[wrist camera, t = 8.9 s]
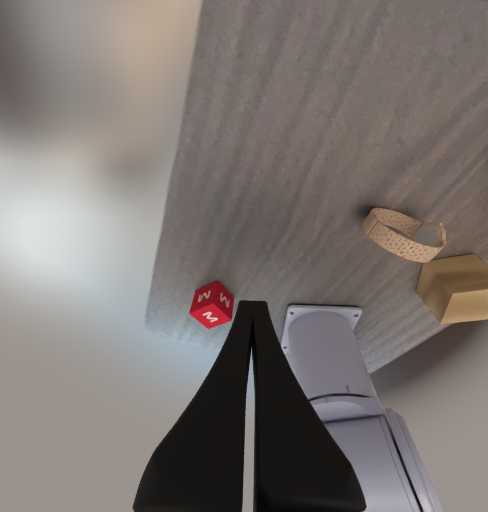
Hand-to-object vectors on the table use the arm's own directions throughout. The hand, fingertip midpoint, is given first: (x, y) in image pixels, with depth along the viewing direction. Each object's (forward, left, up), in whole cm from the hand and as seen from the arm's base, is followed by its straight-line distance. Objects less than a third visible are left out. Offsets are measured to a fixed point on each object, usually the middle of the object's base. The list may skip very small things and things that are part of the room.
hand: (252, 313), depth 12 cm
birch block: (-5, -18, -9) cm, 21 cm away
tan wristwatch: (+1, -10, -10) cm, 14 cm away
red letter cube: (-9, +4, -10) cm, 14 cm away
